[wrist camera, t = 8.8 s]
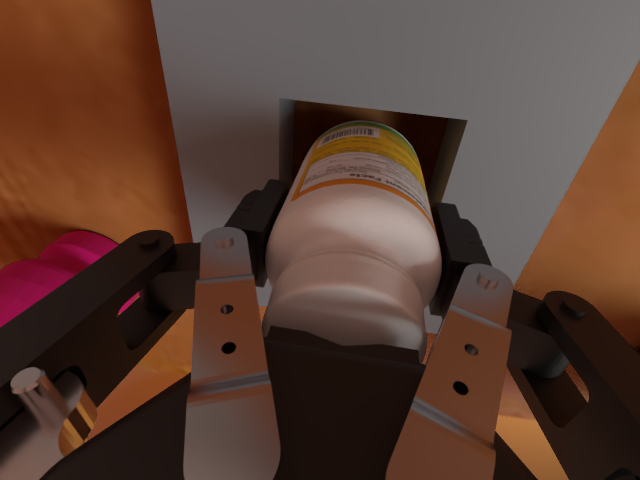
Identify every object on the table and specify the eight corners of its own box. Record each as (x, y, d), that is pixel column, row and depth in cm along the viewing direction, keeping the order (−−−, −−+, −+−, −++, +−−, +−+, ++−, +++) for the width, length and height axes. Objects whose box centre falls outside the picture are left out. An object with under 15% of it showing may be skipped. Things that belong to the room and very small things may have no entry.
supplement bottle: (367, 242, 18) (356, 429, 10) (282, 182, 17) (197, 345, 9) (446, 168, 15) (516, 351, 7) (352, 89, 14) (314, 210, 6)
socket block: (183, -58, 13) (138, -71, 11) (624, -21, 12) (686, -26, 10) (221, 263, 22) (202, 296, 20) (471, 302, 21) (482, 341, 19)
